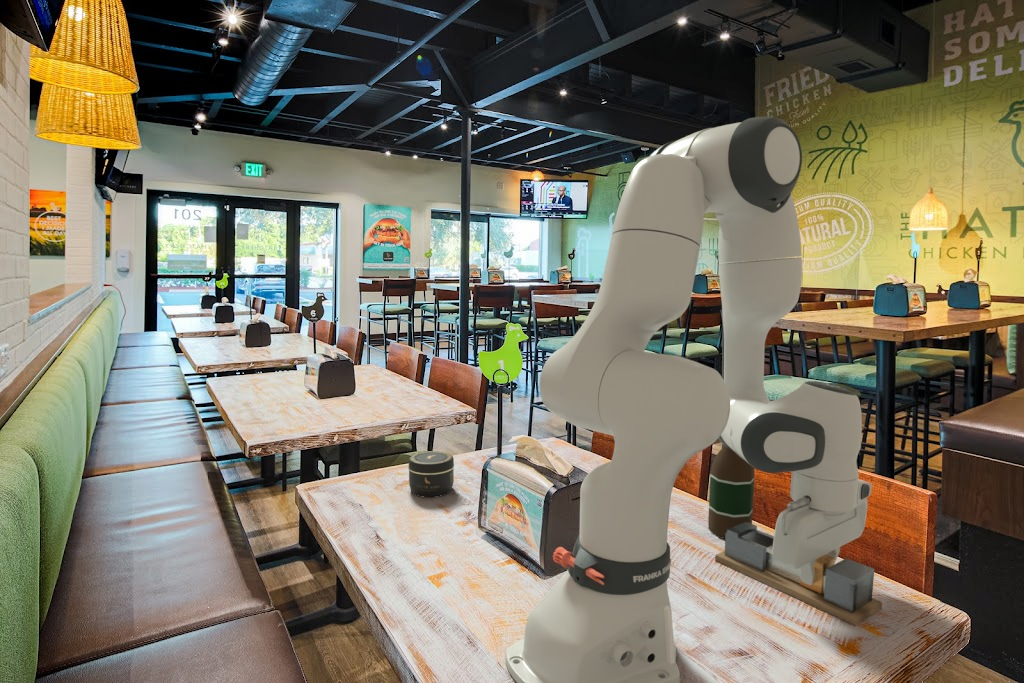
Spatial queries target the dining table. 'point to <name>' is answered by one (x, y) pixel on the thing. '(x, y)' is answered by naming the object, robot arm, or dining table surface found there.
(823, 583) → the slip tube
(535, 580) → the dining table surface
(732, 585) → the dining table surface
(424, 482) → the jar
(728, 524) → the beer bottle
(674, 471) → the robot arm
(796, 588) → the board
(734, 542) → the grey u-shaped bracket
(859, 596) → the socket
